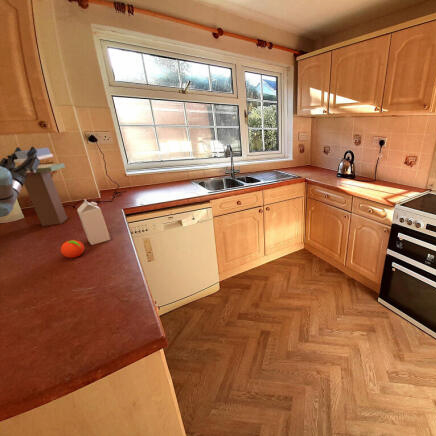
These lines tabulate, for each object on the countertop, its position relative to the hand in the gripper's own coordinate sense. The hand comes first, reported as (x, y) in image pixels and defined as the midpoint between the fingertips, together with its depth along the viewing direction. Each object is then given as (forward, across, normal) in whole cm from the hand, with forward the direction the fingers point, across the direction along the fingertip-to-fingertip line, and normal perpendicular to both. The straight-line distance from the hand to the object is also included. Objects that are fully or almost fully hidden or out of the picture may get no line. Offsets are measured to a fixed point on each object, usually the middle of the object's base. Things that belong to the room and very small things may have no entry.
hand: (27, 149), depth 111 cm
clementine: (-55, +22, -13) cm, 61 cm away
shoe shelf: (-12, -5, -38) cm, 40 cm away
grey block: (0, 0, -6) cm, 6 cm away
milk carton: (-43, +26, -20) cm, 54 cm away
